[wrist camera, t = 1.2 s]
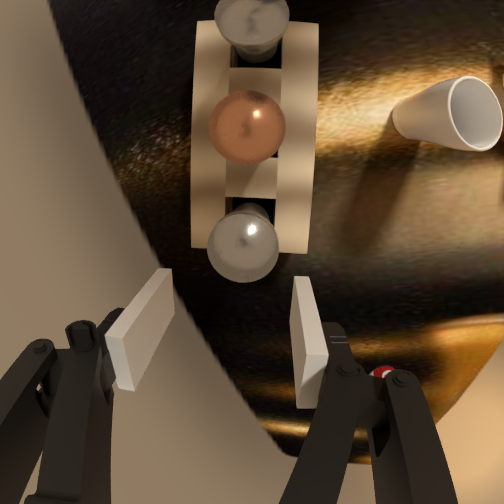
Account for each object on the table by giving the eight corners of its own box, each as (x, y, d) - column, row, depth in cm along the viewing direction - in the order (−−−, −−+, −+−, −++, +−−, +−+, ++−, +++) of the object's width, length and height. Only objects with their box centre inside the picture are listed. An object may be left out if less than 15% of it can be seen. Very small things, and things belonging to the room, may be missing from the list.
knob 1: (230, 22, 25) (216, -14, 17) (285, 23, 25) (289, -14, 17) (227, 69, 27) (212, 44, 19) (283, 71, 26) (288, 45, 19)
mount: (209, 40, 32) (197, 21, 25) (310, 43, 31) (318, 23, 24) (204, 229, 40) (191, 247, 33) (300, 234, 39) (306, 253, 32)
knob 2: (223, 194, 31) (206, 212, 23) (278, 196, 31) (281, 216, 23) (222, 246, 33) (207, 280, 25) (275, 249, 32) (276, 284, 25)
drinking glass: (391, 148, 35) (454, 155, 21) (380, 95, 33) (438, 74, 18) (435, 142, 34) (508, 149, 20) (425, 92, 32) (495, 76, 18)
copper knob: (225, 104, 28) (209, 90, 20) (282, 105, 28) (287, 91, 20) (224, 158, 30) (207, 163, 22) (280, 160, 29) (283, 166, 22)
